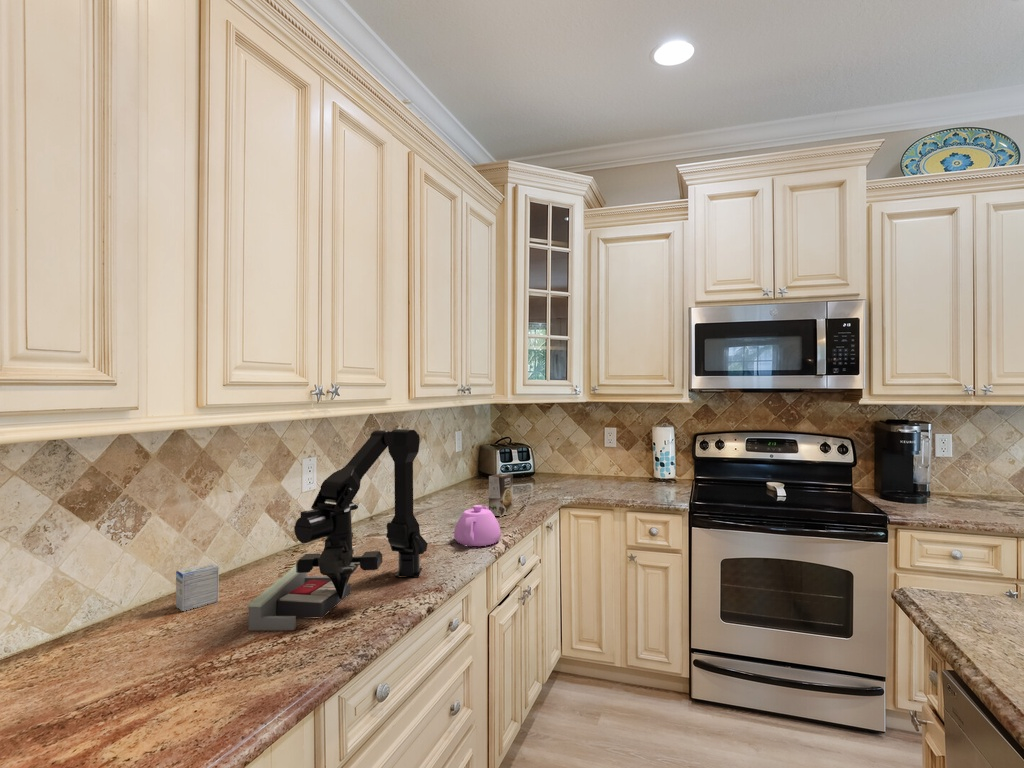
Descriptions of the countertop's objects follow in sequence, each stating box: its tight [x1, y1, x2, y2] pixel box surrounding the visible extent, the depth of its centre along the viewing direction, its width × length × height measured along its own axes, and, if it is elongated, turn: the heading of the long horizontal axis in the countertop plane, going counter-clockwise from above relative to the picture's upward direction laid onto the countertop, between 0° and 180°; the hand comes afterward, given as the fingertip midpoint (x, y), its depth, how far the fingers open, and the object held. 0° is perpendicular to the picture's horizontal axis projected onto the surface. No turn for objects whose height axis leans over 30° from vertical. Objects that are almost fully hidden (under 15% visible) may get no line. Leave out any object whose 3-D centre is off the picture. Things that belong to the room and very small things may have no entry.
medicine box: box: [175, 562, 220, 612], centre depth 129 cm, size 8×4×9 cm, turn 141°
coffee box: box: [488, 473, 514, 516], centre depth 221 cm, size 9×6×16 cm
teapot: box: [453, 504, 502, 547], centre depth 182 cm, size 22×16×12 cm
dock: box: [247, 565, 331, 631], centre depth 128 cm, size 26×10×6 cm, turn 0°
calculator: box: [276, 580, 352, 618], centre depth 129 cm, size 11×4×15 cm
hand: (341, 598), depth 128 cm, fingers closed
